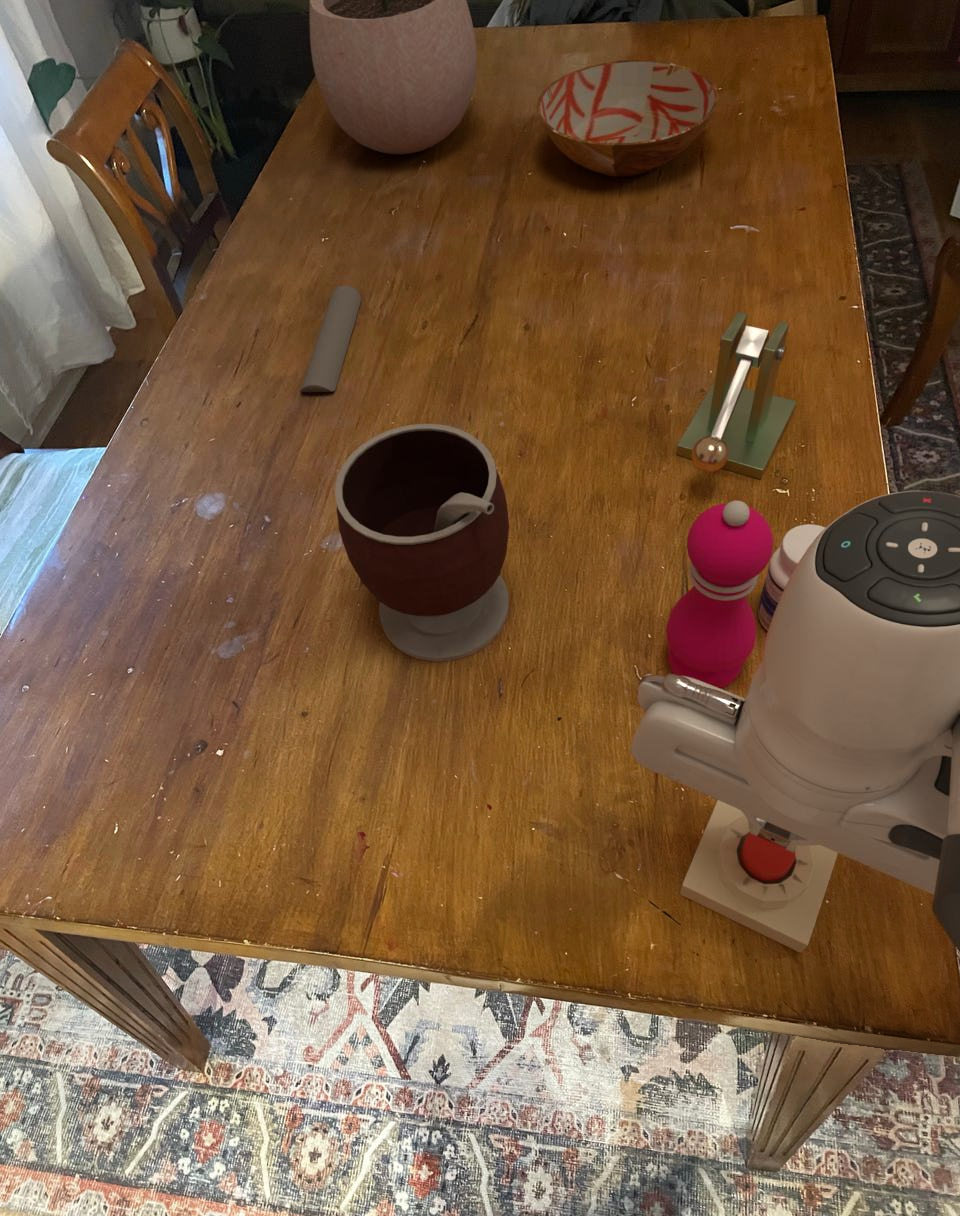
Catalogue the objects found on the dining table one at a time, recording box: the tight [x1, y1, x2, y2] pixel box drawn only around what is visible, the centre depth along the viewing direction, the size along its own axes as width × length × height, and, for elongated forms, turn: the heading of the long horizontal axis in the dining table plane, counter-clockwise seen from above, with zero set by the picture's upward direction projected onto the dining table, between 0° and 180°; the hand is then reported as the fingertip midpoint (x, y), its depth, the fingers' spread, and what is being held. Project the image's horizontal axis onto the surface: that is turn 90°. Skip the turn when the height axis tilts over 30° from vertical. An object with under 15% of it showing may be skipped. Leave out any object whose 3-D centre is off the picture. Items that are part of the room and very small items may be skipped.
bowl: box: [535, 59, 719, 178], centre depth 122 cm, size 25×25×8 cm
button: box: [741, 832, 795, 881], centre depth 59 cm, size 3×3×2 cm
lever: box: [691, 325, 770, 473], centre depth 81 cm, size 14×3×3 cm
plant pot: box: [309, 0, 477, 155], centre depth 122 cm, size 24×24×30 cm
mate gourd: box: [334, 423, 510, 663], centre depth 72 cm, size 16×14×20 cm
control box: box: [679, 799, 839, 954], centre depth 61 cm, size 9×8×4 cm
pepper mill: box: [665, 500, 774, 689], centre depth 66 cm, size 7×7×20 cm
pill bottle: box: [757, 523, 826, 632], centre depth 72 cm, size 6×6×10 cm
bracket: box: [675, 311, 798, 480], centre depth 85 cm, size 11×9×13 cm
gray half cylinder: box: [299, 284, 362, 393], centre depth 105 cm, size 4×20×2 cm, turn 175°
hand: (774, 833), depth 56 cm, fingers closed
